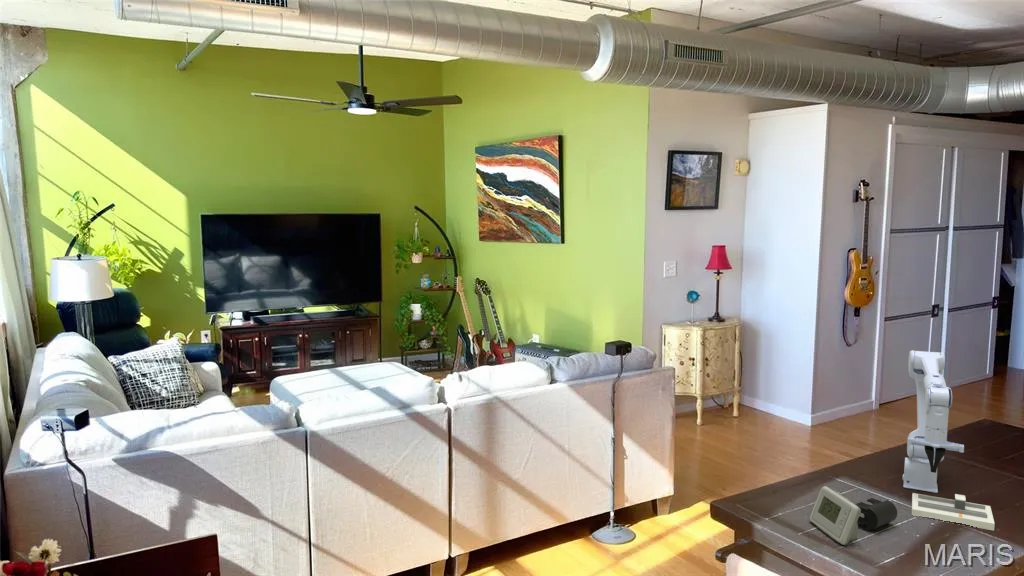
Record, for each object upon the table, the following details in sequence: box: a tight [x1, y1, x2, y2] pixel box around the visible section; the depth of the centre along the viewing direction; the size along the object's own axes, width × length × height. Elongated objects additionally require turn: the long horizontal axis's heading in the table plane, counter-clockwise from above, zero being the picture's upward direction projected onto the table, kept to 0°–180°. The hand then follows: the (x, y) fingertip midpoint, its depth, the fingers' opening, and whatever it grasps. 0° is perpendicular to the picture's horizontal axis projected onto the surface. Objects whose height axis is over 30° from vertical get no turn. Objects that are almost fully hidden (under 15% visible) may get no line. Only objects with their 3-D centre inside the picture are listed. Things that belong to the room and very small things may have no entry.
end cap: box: [854, 497, 898, 531], centre depth 202 cm, size 10×7×7 cm
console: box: [911, 492, 996, 532], centre depth 210 cm, size 20×14×3 cm
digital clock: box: [809, 485, 861, 546], centre depth 197 cm, size 16×9×11 cm, turn 177°
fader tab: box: [954, 493, 967, 510], centre depth 209 cm, size 2×4×3 cm, turn 151°
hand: (933, 471), depth 216 cm, fingers closed
